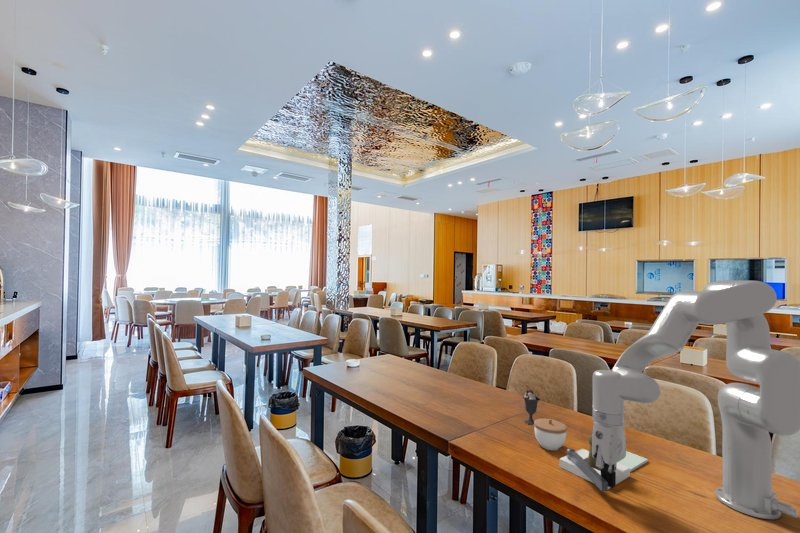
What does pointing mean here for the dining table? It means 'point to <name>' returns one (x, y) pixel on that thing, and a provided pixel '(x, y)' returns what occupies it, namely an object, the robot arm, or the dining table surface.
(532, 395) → the sundae
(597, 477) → the retention bar
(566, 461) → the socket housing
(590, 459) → the olive tapered cylinder
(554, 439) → the lidded jar
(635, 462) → the sage mat
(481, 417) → the dining table surface
